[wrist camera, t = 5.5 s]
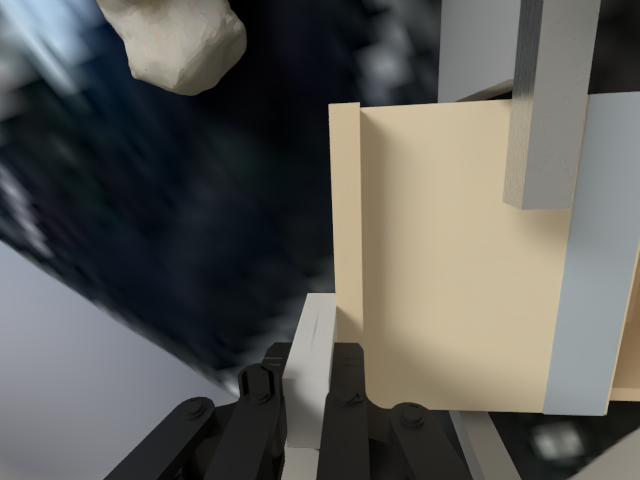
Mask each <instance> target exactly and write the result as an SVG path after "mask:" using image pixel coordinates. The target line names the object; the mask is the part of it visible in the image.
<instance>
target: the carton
mask: <svg viewBox="0 0 640 480" xmlns="http://www.w3.org/2000/svg"><path fill="white" fill-rule="evenodd" d="M520 5H521V0H442V12H441V37H440V62H439V87H438V103H455V102H472V101H482V100H485V99H488V98H491V97H494V96H497V95H500V94H503V93H506V92H509V91H512V90H513V81H514V71H515V60H516V49H517V38H518V27H519V16H520ZM609 400H617V401H640V252H639V257H638V262H637V267H636V271H635V276H634V281H633V286H632V291H631V296H630V301H629V306H628V311H627V316H626V321H625V325H624V330H623V335H622V340H621V345H620V350H619V355H618V360H617V365H616V370H615V375H614V379H613V384H612V389H611V394H610V399H609ZM449 413H450V416H451V419H452V421H453V424H454V427H455V430H456V433H457V435H458V438H459V441H460V444H461V447H462V449H463V452H464V455H465V458H466V461H467V463H468V466H469V469H470V472H471V475H472V477H473V480H521V478H520V476H519V474H518V472H517V470H516V468H515V466H514V464H513V462H512V460H511V458H510V456H509V454H508V452H507V450H506V448H505V446H504V444H503V442H502V440H501V438H500V436H499V434H498V432H497V430H496V428H495V426H494V424H493V422H492V420H491V418H490V416H489V414H488V412H487V411H464V410H449Z"/></svg>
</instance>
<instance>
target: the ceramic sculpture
mask: <svg viewBox="0 0 640 480" xmlns="http://www.w3.org/2000/svg"><path fill="white" fill-rule="evenodd" d="M96 1H97V3H98V5H99V6H100V8H101V10H102V12H103V14H104V16H105V18H106V19H107V21H108V22H109V23H110V24H111V25H112V26H113V27H114V29H115V30H116V32H117V33H118V35H119V36H120V37H121V38H122V39H123V41H124V43H125V47H126V52H127V56H128V59H129V66H130V69H131V73H132V75H133V77H134V78H135V79H138V80H143V81H146V82H148V83H151V84H153V85H156V86H159V87H161V88H163V89H165V90H167V91H171V92H174V93H177V94H182V95H190V96H192V95H197V94H199V93H200V92H202V91H204V90H208V89H211V88H212V87H214V86H215V85H217V83H218V82H219V80H220V79H221V78H222V77H223V76H224V75H225V74H226V72H227V71H228V70H229V69H231V68H232V67H233V66H234V65H235V64H236V63H237V62H238V61H239V60H240V58H241V57H242V55H243V54H244V53H245V50H246V46H247V36H246V29H245V26H244V24H243V22H242V21H240V20H239V18H238V17H237V15H236V14H235V13H234V12H233V11H232V10H231V8H230V5H229V2H228V0H96Z"/></svg>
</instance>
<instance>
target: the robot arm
mask: <svg viewBox="0 0 640 480" xmlns="http://www.w3.org/2000/svg"><path fill="white" fill-rule="evenodd" d="M238 382H239V390H240V398H239V400H238V401H237V402H235V403H231V404H228V405H223V406H219V407H215V405H214V403H213V401H212V400H211V399H209V398H207V397H195V398H191V399H188V400H186V401H184V402H182V403H181V404H179V405H178V406H177V407H176V408H175V409H174V410H173V411H172V412H171V413H170V414H169V415H168V416H167V417H166V418H165V419H164V420H163V421H162V422H161V423H160V424H159V425H158V426H157V427H156V428H155V429H154V430H153V431H152V432H151V433H150V434H149V435H148V436H147V437H146V438H145V439H144V440H143V441H142V442H141V443H140V444H139V445H138V446H137V447H136V448H135V449H134V450H133V451H132V452H131V453H130V454H129V455H128V456H127V457H126V458H125V459H124V460H123V461H121V463H119V464H118V465H117V466H116V467H115V468H114V470H112V471H111V472H110V473H109V474H108V475H107V477H105V478H104V479H103V480H281V477H282V472H283V467H284V463H285V452H284V446H285V441H286V437H287V445H288V447H294V448H316V449H320V451H319V460H318V469H317V478H316V480H370V479H373V480H473V479H472V477H471V475H470V474H469V472H468V470H467V469H466V467H465V466H464V464H463V462H462V461H461V459H460V458H459V456H458V454H457V453H456V451H455V449H454V448H453V446H452V445H451V443H450V441H449V440H448V438H447V436H446V435H445V433H444V432H443V430H442V428H441V427H440V425H439V424H438V422H437V420H436V419H435V417H434V415H433V414H432V413H431V412H430V411H429V410H428V409H427V408H425V407H424V406H422V405H420V404H417V403H413V402H403V403H399V404H396V405H395V406H394V407H393V408H392V409H391V410H387V409H384V408H381V407H379V406H377V405H375V404H374V403H372V402H371V401H370V400H369V398H368V397H367V395H366V389H365V368H364V350H363V348H362V347H361V346H360V344H359V343H342V342H338V341H337V310H336V293H308V295H307V298H306V301H305V305H304V308H303V311H302V314H301V318H300V321H299V324H298V327H297V331H296V334H295V337H294V341H293V343H281V342H275V343H274V344H273V345H272V346H271V347H270V348H268V349H267V352H266V354H265V357H264V359H263V361H262V363H258V364H253V365H250V366H247V367H246V368H244V369H242V370H241V371H240V373H239V374H238Z"/></svg>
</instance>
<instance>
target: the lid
mask: <svg viewBox="0 0 640 480" xmlns="http://www.w3.org/2000/svg"><path fill="white" fill-rule="evenodd" d="M511 103H512V99H507V100H490V101H472V102H455V103H438V104H420V105H403V106H386V107H368V108H360V102H359V103H342V104H329V127H330V154H331V181H332V208H333V235H334V262H335V289H336V310H337V341H338V342H342V343H359V344H360V346H361V347H362V348H363V350H364V368H365V389H366V395H367V397H368V398H369V400H370V401H371V402H372V403H374V404H375V405H377V406H379V407H381V408H393V407H394V406H395V405H396V404H399V403H403V402H413V403H417V404H420V405H422V406H424V407H425V408H427V409H429V410H464V411H499V412H535V413H543V414H558V415H592V416H604V414H607V409H608V404H609V399H610V394H611V389H612V384H613V379H614V375H615V370H616V365H617V360H618V355H619V350H620V345H621V340H622V335H623V330H624V325H625V321H626V316H627V311H628V306H629V301H630V296H631V291H632V286H633V281H634V276H635V271H636V267H637V262H638V257H639V252H640V92H624V93H607V94H590V95H587V99H586V106H585V113H584V120H583V127H582V134H581V141H580V148H579V155H578V161H577V168H576V175H575V182H574V189H573V196H572V203H571V209H536V210H520V209H518V208H515V207H513V206H510V205H508V204H505V203H503V202H502V201H503V190H504V179H505V168H506V157H507V147H508V136H509V125H510V114H511Z"/></svg>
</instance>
